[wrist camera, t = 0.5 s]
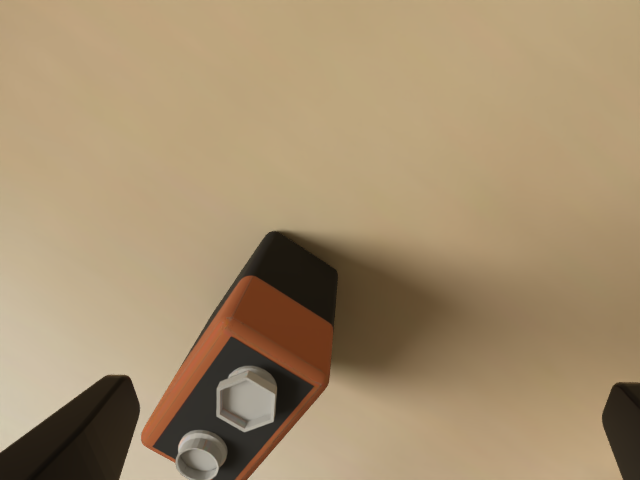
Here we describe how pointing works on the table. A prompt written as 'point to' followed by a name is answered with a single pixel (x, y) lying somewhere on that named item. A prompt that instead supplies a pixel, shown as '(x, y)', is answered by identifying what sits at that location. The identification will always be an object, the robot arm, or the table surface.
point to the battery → (250, 366)
